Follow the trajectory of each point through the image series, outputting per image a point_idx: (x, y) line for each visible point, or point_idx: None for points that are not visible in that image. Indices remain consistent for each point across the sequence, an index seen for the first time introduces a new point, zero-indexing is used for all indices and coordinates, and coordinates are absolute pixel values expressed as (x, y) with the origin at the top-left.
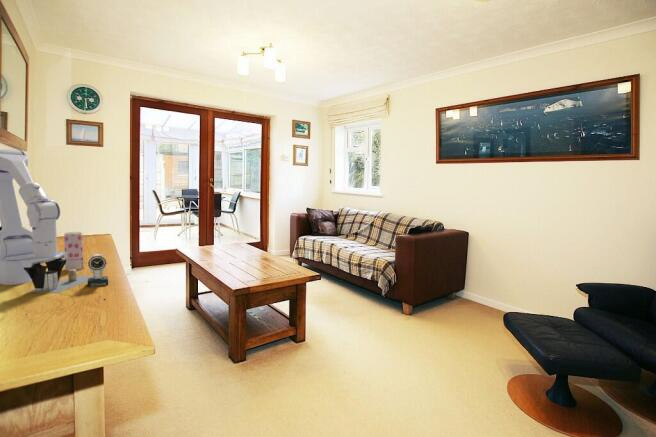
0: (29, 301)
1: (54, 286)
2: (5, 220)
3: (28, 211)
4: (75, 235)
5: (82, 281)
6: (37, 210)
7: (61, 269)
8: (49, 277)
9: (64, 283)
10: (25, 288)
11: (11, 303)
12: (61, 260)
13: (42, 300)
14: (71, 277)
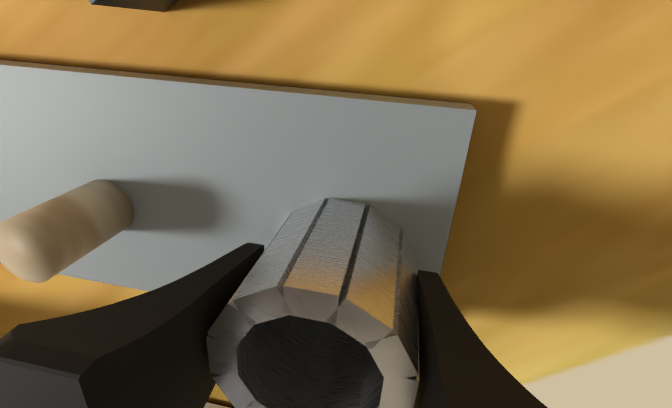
0: (582, 246)
1: (356, 212)
2: None
3: None
4: None
5: (99, 115)
6: None
7: (154, 297)
8: (384, 291)
9: (186, 223)
10: None
11: (611, 328)
12: (47, 400)
13: (573, 167)
14: (103, 215)
